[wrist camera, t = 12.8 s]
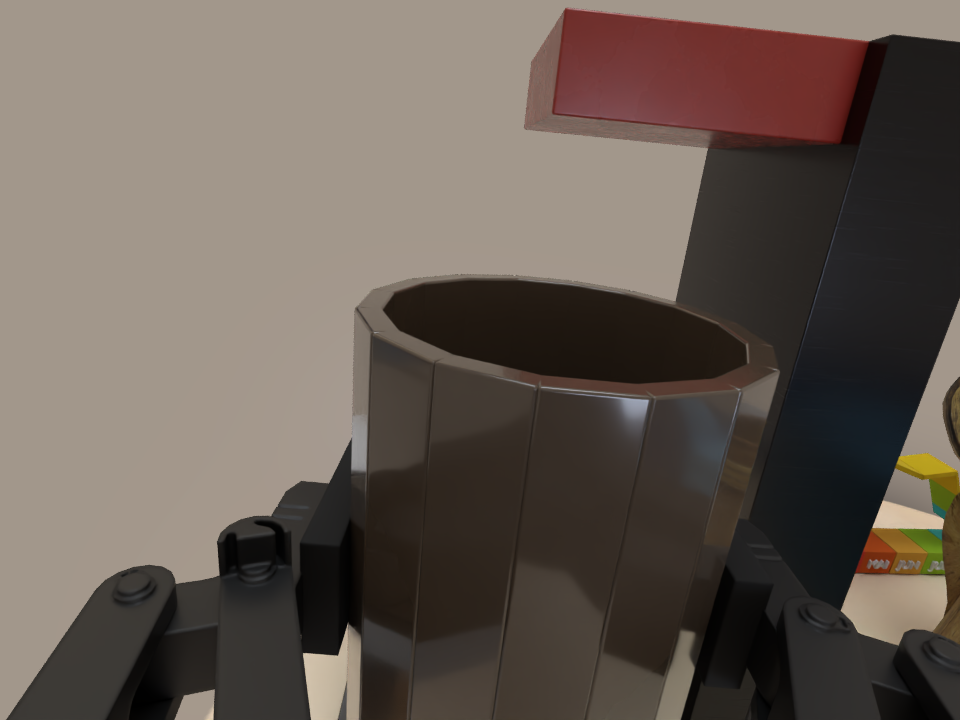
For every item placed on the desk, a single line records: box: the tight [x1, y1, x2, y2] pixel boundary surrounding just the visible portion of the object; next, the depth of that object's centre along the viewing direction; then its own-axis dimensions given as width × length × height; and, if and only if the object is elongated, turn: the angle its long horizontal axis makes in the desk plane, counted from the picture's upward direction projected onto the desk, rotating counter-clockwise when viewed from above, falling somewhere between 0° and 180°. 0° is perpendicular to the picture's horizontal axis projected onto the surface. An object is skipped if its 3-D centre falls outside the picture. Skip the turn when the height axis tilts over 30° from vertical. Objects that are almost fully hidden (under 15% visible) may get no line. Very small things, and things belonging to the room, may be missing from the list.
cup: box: [346, 274, 780, 720], centre depth 13 cm, size 8×8×13 cm
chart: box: [855, 453, 960, 574], centre depth 41 cm, size 30×3×15 cm, turn 95°
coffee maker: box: [338, 8, 960, 720], centre depth 27 cm, size 21×14×31 cm, turn 91°
